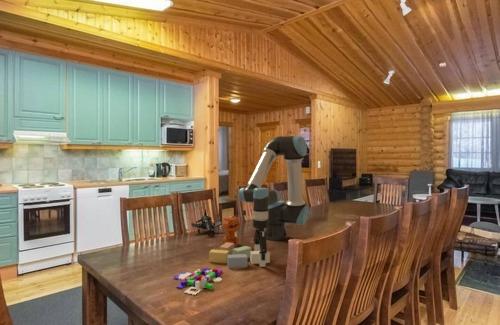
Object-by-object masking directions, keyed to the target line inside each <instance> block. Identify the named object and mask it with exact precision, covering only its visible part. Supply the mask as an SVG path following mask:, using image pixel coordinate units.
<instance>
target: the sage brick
mask: <svg viewBox="0 0 500 325" xmlns="http://www.w3.org/2000/svg"><path fill="white" fill-rule="evenodd" d="M250 251H252V247H250V246H247V245H244V246H240V247H236V248H235V247H234V249H232V254H231V255H235V254H246V255H247V259H250Z"/></svg>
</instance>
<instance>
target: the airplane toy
mask: <svg viewBox="0 0 500 325" xmlns="http://www.w3.org/2000/svg"><path fill="white" fill-rule="evenodd" d="M212 220H213V219H212V216H209V215H207V208H205V210H204V214H203V216H202V217H200V219H198V220H197V221H195V223H194V222H193V223H192V222H191V227H193V228H197V233H198V234H200V233H201V230H202V231H203V232H206V233H208V234H207V236H210V235H211V234H210V233H211V232H212V233H213V232H215V231H217V229H216V227H218V226H222V225H223V222H222V221H217V222H213V221H212Z"/></svg>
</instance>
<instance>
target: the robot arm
mask: <svg viewBox="0 0 500 325" xmlns="http://www.w3.org/2000/svg"><path fill="white" fill-rule="evenodd" d="M307 153H308V145H307V141H306V140H305V138H304V137H303V136H299V135H287V136H286V135H285V136H283V135H281V136H276V137H273V138H272V139H271V140H269V141H268V142H267V143H266V145H264V147H263V149H262V151H261V156H260V159H259V160H258V162H257V164H256V166H255V168H254V171H253V172H252V174H251V177H250V178H249V180H248V182H247V184H246V186H245V187H241V188H240V189H239V190H238V192H237V193H238V194H237V196H238V197H237V198H238V199H239V201H241V202H245V203H251V204H252V206H253V208H252V210H253V212H252V213H251V214H252V227H253V228H255V229H254V236H253V244H254V248H253V249H254V250H253V251H260V252H259V254H260V264H259V267H260V268H262V267H263V268H264V267H266V264H267V263H266V253H267V250H268V249H267V248H268V247H267V240H270V241H284V240H287V239H288V231H287V228H286V224H293V225H301V226H302V225H304V224H306V223H307V221H308V218H309V215H310V214H309V213H310V208H309V206H308V205H306V201H305V200H304V199H303V179H302V178H303V176H302V175H303V174H302V173H303V172H302V161H303V160H304V159H305V158H304V157H305V156H306V155H307ZM280 156H283V160H284V161H285V162H286V172H287V173H286V174H287V199H288V200H287V201H285V200H280V199H281V194H280V192H279V191H278V190H276V189H269V188H267V187H262V186H263V184H264V182H265V180H266V177H267V175H268V173H269V171H270V169H271V166H272V165H273V162H274V161H275V160H277V158H278V157H280Z"/></svg>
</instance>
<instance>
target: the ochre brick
mask: <svg viewBox="0 0 500 325" xmlns="http://www.w3.org/2000/svg"><path fill="white" fill-rule="evenodd" d="M227 255H229V251H228V250H220V249H210V251H209V252H208V262H209V263H219V264H220V263H221V264H227Z"/></svg>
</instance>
